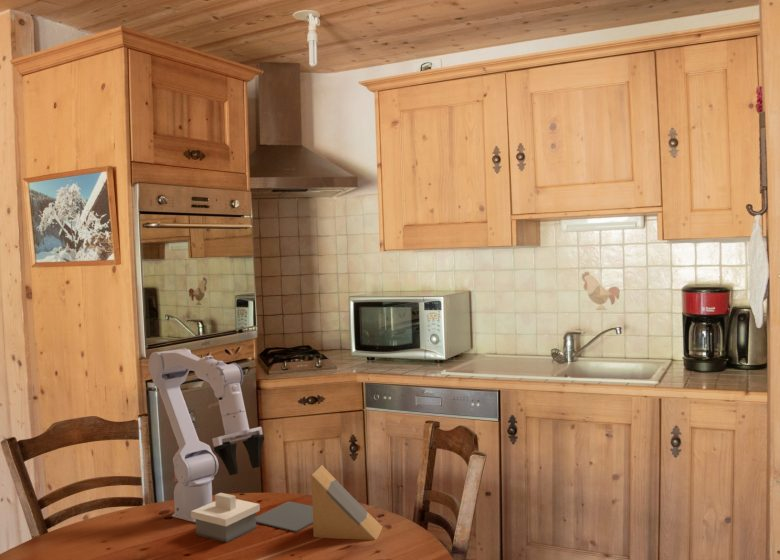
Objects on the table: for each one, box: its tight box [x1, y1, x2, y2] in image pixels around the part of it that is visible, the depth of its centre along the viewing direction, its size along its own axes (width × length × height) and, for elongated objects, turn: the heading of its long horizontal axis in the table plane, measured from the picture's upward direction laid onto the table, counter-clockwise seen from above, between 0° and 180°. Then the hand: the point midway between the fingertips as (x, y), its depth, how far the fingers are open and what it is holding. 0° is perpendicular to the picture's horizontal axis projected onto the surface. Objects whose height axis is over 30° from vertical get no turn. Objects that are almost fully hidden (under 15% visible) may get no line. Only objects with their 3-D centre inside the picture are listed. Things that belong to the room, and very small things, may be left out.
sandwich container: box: [311, 464, 383, 541], centre depth 167 cm, size 9×15×15 cm, turn 80°
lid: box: [191, 492, 261, 526], centre depth 170 cm, size 11×11×5 cm
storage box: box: [195, 512, 257, 543], centre depth 170 cm, size 10×10×5 cm
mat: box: [256, 500, 313, 533], centre depth 178 cm, size 15×15×1 cm
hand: (245, 470), depth 166 cm, fingers open, 7 cm apart
